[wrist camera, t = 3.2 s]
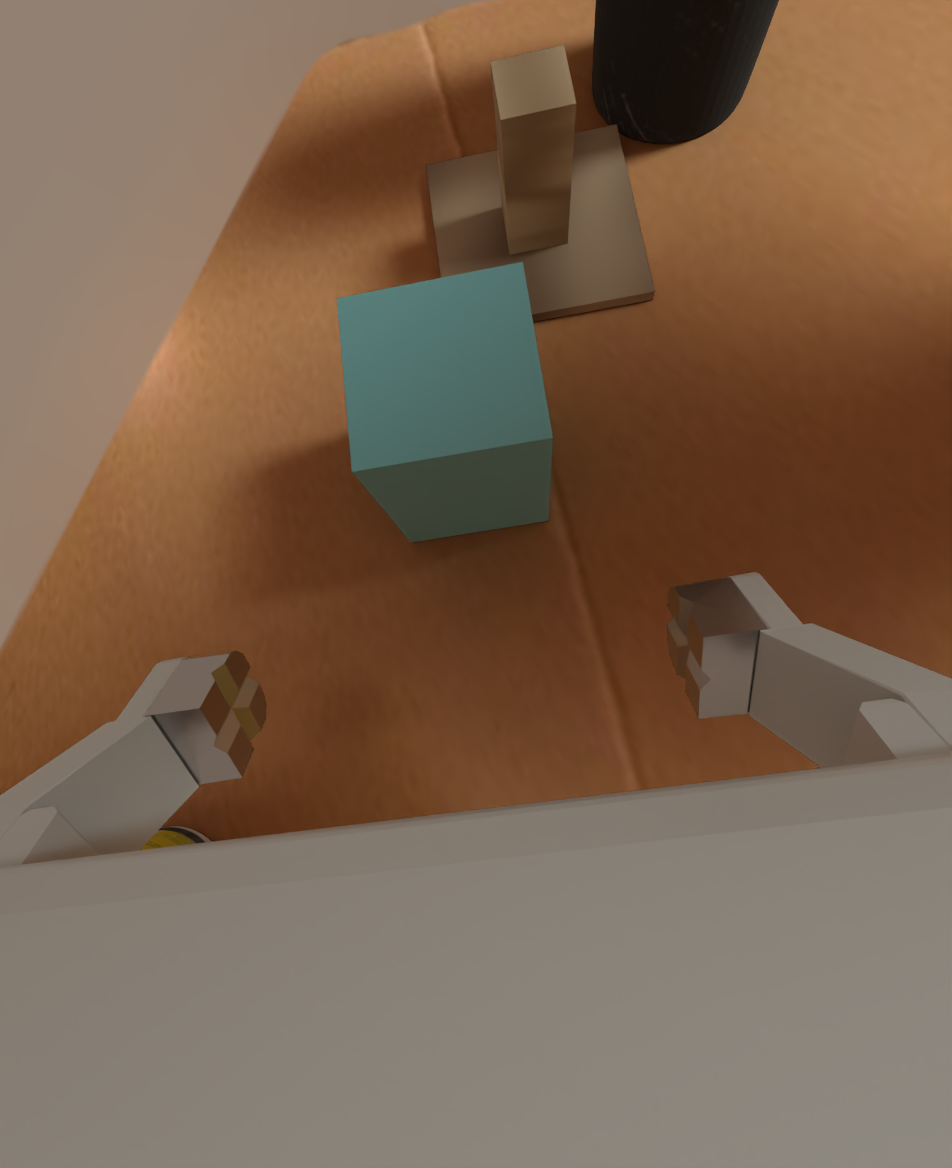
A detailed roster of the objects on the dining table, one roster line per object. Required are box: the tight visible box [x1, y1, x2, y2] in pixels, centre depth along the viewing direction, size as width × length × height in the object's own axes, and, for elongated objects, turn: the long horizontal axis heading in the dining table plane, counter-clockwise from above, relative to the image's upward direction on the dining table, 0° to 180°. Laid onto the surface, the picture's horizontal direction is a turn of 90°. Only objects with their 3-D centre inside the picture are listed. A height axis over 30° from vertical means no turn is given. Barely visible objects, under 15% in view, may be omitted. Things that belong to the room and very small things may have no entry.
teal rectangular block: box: [337, 262, 553, 543], centre depth 20 cm, size 6×6×8 cm
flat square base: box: [426, 45, 655, 322], centre depth 23 cm, size 9×9×6 cm
